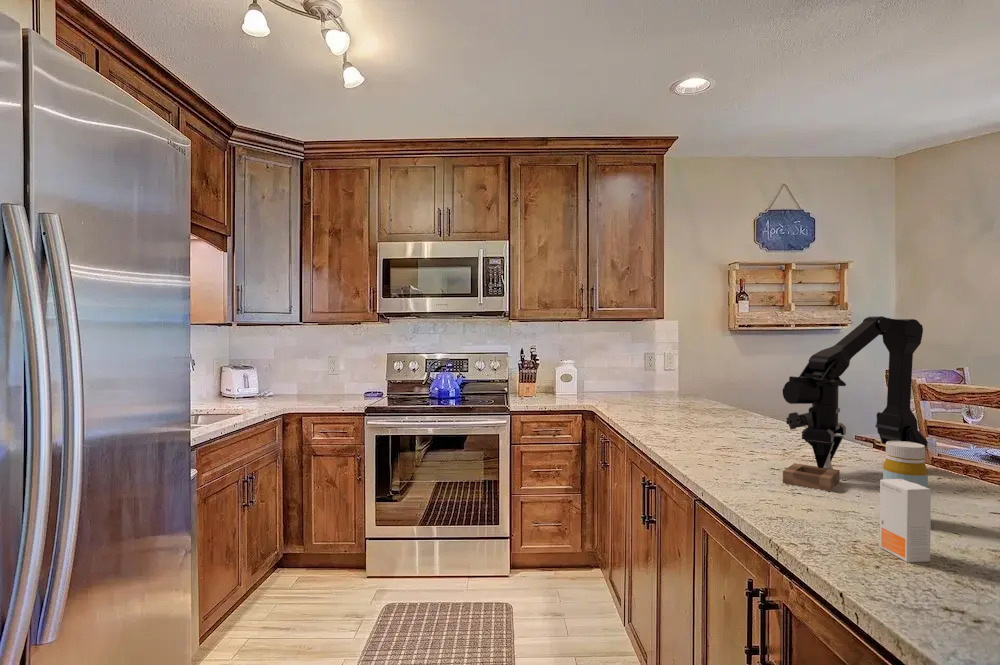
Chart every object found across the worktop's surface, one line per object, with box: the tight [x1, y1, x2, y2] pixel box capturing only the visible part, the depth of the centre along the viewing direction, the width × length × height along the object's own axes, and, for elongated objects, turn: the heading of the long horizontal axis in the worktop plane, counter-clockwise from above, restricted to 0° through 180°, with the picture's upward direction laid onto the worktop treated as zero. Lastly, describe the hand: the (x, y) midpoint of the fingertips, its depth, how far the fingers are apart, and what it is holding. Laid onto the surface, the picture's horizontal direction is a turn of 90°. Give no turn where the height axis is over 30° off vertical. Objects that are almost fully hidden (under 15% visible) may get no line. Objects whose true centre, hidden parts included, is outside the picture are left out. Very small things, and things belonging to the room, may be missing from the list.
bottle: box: [882, 441, 929, 488], centre depth 107 cm, size 7×7×15 cm
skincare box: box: [878, 478, 932, 564], centre depth 91 cm, size 6×4×12 cm
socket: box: [782, 462, 841, 492], centre depth 132 cm, size 10×10×3 cm
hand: (824, 465), depth 138 cm, fingers open, 7 cm apart
